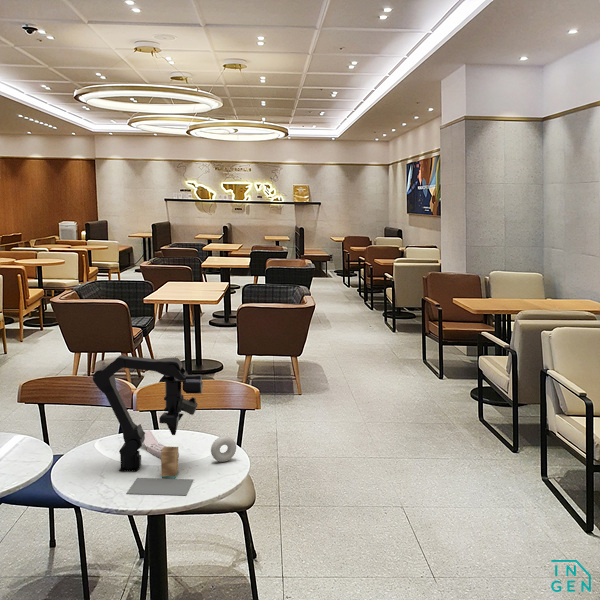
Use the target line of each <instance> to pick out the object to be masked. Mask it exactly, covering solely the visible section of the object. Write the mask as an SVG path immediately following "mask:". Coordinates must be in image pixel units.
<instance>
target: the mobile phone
mask: <svg viewBox="0 0 600 600" xmlns="http://www.w3.org/2000/svg"><path fill="white" fill-rule="evenodd" d="M143 431H144V432H145V440H144V442H143V444H144V445H145V447H146V450H147V452H149V453H150V454H152V455H154V456H155V457H156V458H159V459H160V458H161V451H162V449H163V448H164V446H165V447H168V446H166V445H165V444H163V443H160V442H158V440H157V439H156V437H155V435H154V434H153V432H152V431H151V430H150V429H148V430H143ZM179 457H180V453H179V451H178V459H179Z"/></svg>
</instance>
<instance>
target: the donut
mask: <svg viewBox="0 0 600 600" xmlns="http://www.w3.org/2000/svg"><path fill="white" fill-rule="evenodd" d="M223 446H227V449H226V450H225V452H221V448H222V447H223ZM236 452H237V444H236V441H235V440H234V439H233V438H232V437H231V436H228V435H221V436H219V437H217V438H216V439H215V440H214V441H213V443H212V445H211V448H210V453H211V454H210V455H211V456H212V458H213V459H214V460H216V461H218V462H220V463H222V462H223V463H224V462H227V461H229V460H231V459H232V458H233V457H234V456H235V454H236Z"/></svg>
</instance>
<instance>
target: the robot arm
mask: <svg viewBox="0 0 600 600" xmlns="http://www.w3.org/2000/svg"><path fill="white" fill-rule="evenodd" d="M121 369H131V370H139V371H151V372H156V373H158V374H160V375H163V376H162V377H161V378H160V379H159V382H160V383H163V382H164V387H165V388H164V389H165V390H164V391H165V395H164V397H163V401H164V402H165V407H164V409H163V411H164V412H163V413H162V414H161V415H160V417H159V418H158V419H159V421H158V422H159V424H166V426H167V427H168V429H169V432H170V434H171V435H172V436H176V435H177V431H178V430H177V429H178V427H179V426H178V425H179V421H180V420H181V419H182V417H183V416H184V413H187V414H189V415H191V416H194V414H195V413H196V410H197V408H198V405H199V404H198V402H197V398H195V397H193V396H192V397H190V398H189V399H188V398H187V399H186V398H185V397H184V396H185V395H184V394H183V393H182V391H183V392H184V393H185V394H190V395H191V394H194V395H195V394H203V386H204V384H203V379H202V374H188V372H187V370H186V369H185V368H184V367H183V363H182V361H181V359H180V358H178V357H164V358H148V357H147V358H146V357H139V356H128V355H124V354H121V355H118V357H116V358H115V359H114V360H113V361H112V362H110V363H109V364H108V365H107V366H105V365H104V366H102V367H99V368H98V369H97V370H96V371H95V372H94V374H93V376H92V381H93V383H94V384H95V386H96V387H97V388H98V390H99V391H101V392H102V393H103V394H104V396H105V398H106V399H107V401H108V403H109V405H110V407H111V409H112V411H113V413H114V416H115V417H116V419H117V421H118V423H119V425H120V427H121V429H122V439H123V442H124V443H123V444H122V446H121V447H120V449H119V450H118V451H119V455H120V456H119V457H120V462H119V463H120V467H119V469H118V471H119V472H138V470H139V469H140V467H142V455H141V453H140V450H139V449H141V447H142V445H143V444H144V443H143V442H144V440H145V432H144V431H145V430H144V429H143V426H142V424H141V423H140V424H138V425H137V424H136V423H135V422H134V421H133V418H132V417H131V415H130V413H129V410H128V409H127V407H126V404H125V403H124V400H123V398H122V396H121V395H120V392H119V389H117V382H116V377H115V374H116V373H117V372H119V370H121ZM181 412H184V413H181Z"/></svg>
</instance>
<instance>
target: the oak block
mask: <svg viewBox="0 0 600 600" xmlns="http://www.w3.org/2000/svg"><path fill="white" fill-rule="evenodd" d="M165 446H166V445H165ZM165 446H164V448H163V449H162V451H161V459H160V467H161V469H160V470H161V471H160V473H161V474H160V476H161V477H160V478H165V479H177V477H178V475H179V474H178V473H180V472H179V458H178V452H179V446H167V447H165Z"/></svg>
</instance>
